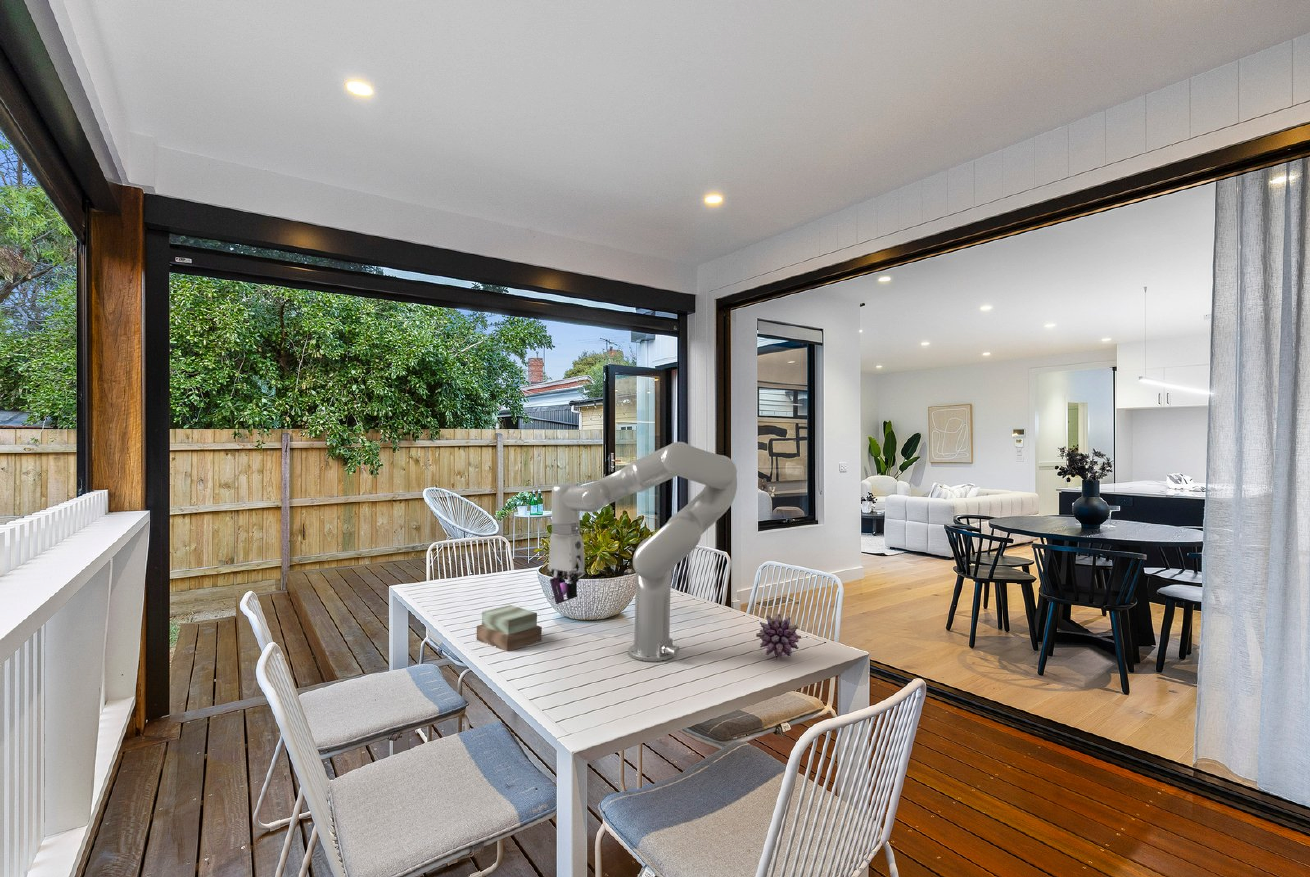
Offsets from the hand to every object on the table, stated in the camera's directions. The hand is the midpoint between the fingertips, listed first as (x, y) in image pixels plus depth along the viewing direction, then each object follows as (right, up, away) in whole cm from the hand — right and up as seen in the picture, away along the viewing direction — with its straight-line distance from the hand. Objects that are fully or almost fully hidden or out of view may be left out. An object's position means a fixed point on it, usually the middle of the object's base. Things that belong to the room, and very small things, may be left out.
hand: (565, 595), depth 173 cm
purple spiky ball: (+58, -16, -3) cm, 60 cm away
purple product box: (-1, -1, -2) cm, 2 cm away
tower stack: (-17, -15, +7) cm, 24 cm away
